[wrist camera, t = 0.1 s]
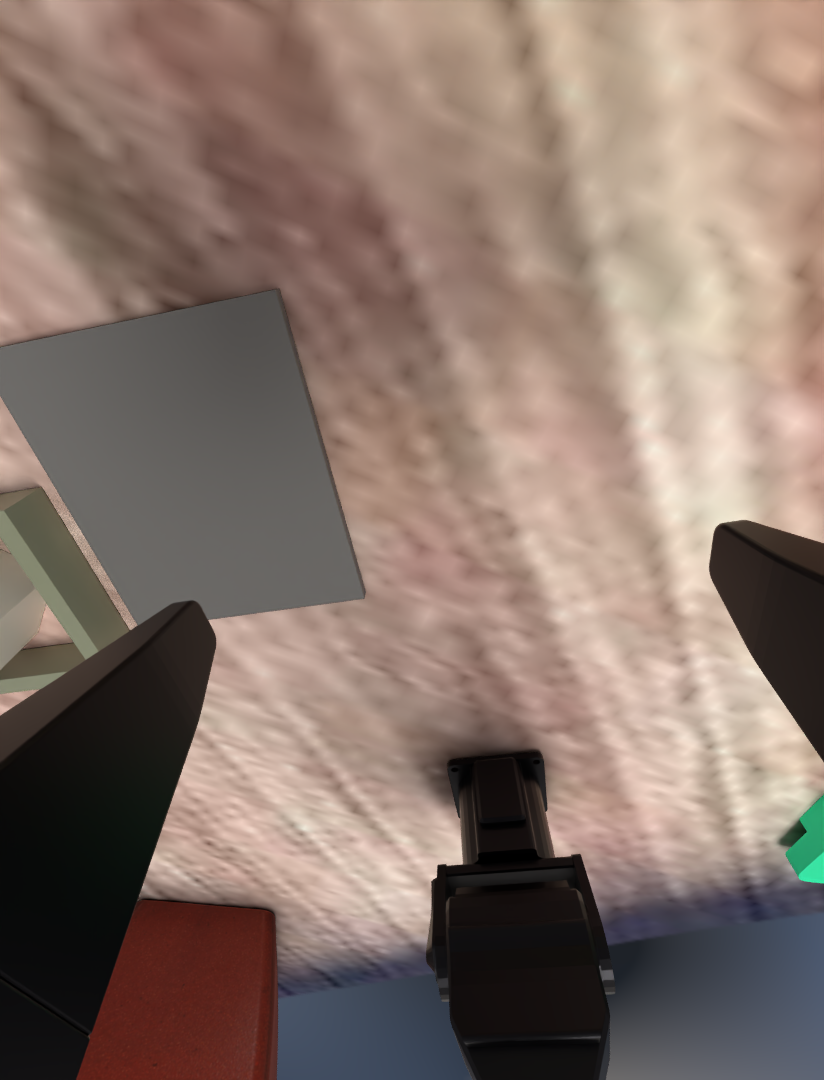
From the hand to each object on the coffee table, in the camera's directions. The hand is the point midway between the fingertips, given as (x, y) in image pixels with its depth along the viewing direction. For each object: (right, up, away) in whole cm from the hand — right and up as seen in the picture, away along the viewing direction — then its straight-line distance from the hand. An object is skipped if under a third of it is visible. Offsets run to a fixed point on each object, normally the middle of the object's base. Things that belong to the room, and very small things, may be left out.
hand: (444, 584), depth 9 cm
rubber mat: (-11, +3, +15) cm, 19 cm away
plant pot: (-20, -38, +40) cm, 59 cm away
